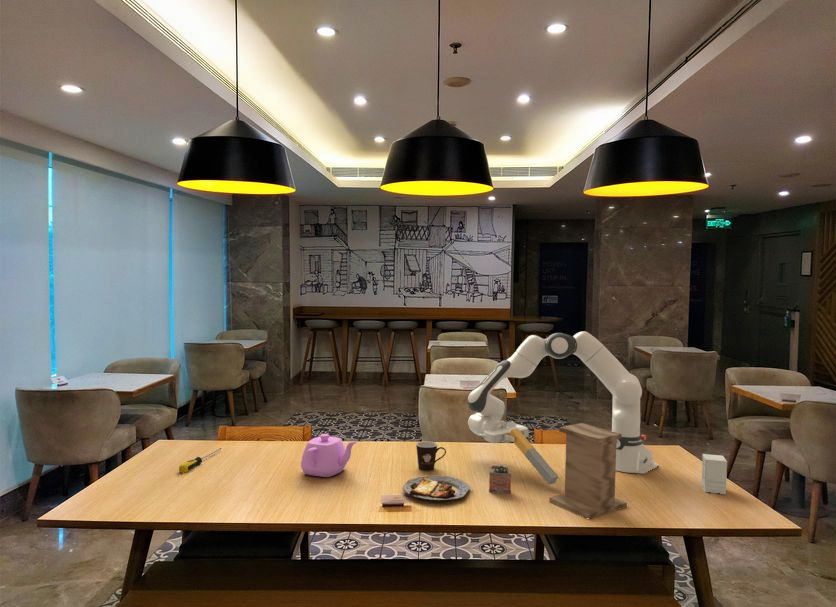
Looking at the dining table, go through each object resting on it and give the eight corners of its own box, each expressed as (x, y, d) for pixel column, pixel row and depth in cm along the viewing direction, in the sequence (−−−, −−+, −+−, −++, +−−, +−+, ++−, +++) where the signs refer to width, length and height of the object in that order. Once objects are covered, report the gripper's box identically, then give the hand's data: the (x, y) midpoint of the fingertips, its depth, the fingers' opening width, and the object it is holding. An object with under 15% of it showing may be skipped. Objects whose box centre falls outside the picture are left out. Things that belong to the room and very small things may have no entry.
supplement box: (722, 488, 214) (723, 455, 213) (726, 495, 207) (727, 461, 206) (701, 485, 216) (702, 453, 216) (704, 492, 209) (705, 458, 209)
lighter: (510, 490, 208) (511, 464, 207) (511, 494, 204) (511, 467, 204) (488, 489, 208) (489, 463, 208) (488, 493, 205) (489, 466, 205)
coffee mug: (412, 470, 229) (413, 445, 228) (420, 463, 237) (420, 440, 236) (439, 474, 224) (439, 449, 224) (446, 467, 232) (447, 443, 232)
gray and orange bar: (514, 434, 229) (517, 428, 228) (555, 483, 211) (558, 476, 210) (508, 435, 228) (511, 429, 226) (548, 484, 209) (552, 478, 208)
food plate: (457, 509, 190) (457, 499, 190) (393, 499, 198) (393, 489, 198) (475, 486, 213) (475, 477, 213) (418, 478, 221) (418, 469, 221)
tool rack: (587, 490, 209) (589, 421, 208) (626, 506, 194) (629, 432, 193) (549, 501, 198) (551, 428, 197) (587, 519, 184) (590, 440, 183)
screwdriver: (185, 465, 220) (224, 444, 250) (177, 464, 221) (217, 444, 250) (185, 474, 220) (224, 452, 250) (177, 473, 221) (217, 451, 250)
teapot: (288, 479, 216) (289, 440, 216) (317, 462, 236) (317, 427, 235) (341, 487, 208) (341, 447, 208) (366, 470, 228) (366, 433, 227)
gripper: (477, 426, 230) (500, 434, 219) (514, 420, 242) (538, 427, 230) (477, 441, 231) (499, 450, 219) (514, 434, 242) (537, 442, 230)
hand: (519, 438), depth 225 cm, fingers closed on gray and orange bar, 3 cm apart
